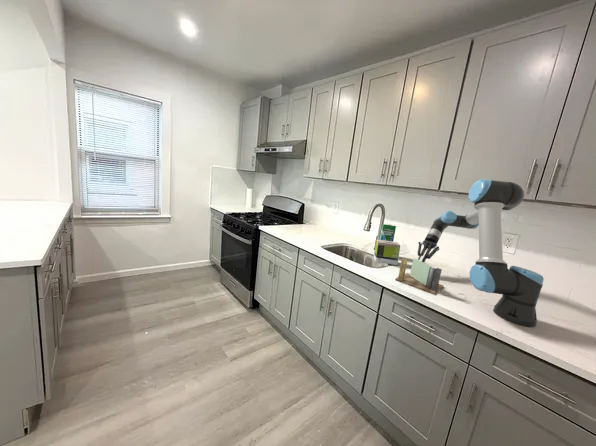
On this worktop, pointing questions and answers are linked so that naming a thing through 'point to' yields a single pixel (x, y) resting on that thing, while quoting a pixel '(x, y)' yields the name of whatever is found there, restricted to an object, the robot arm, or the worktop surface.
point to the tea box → (386, 252)
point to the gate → (422, 272)
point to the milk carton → (387, 232)
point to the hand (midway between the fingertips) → (418, 265)
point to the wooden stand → (414, 283)
